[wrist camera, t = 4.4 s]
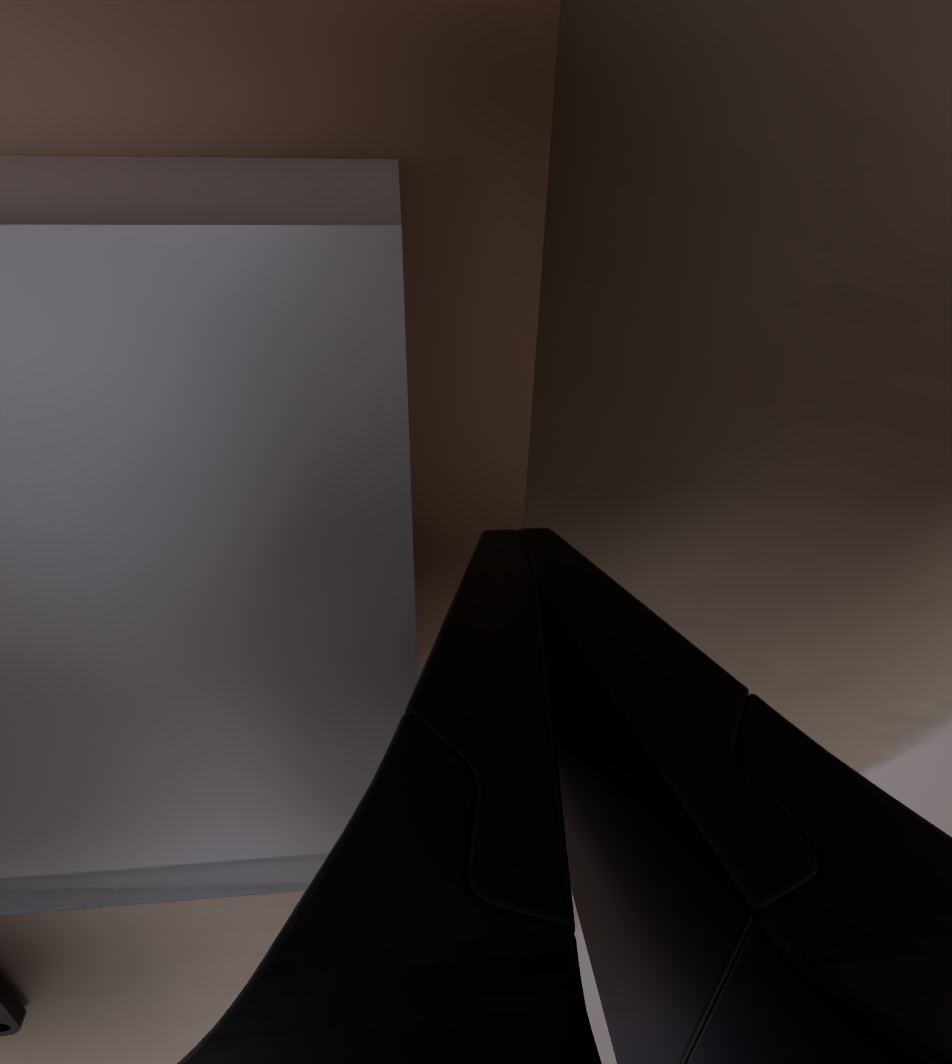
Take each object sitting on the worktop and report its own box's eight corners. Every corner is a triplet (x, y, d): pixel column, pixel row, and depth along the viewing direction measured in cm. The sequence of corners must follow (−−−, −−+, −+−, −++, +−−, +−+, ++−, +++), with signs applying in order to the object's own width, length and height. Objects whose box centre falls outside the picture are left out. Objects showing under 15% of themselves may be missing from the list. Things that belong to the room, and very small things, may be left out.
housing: (418, 695, 12) (424, 881, 9) (-26, 721, 11) (-153, 928, 9) (398, 159, 7) (402, 225, 5) (-348, 151, 7) (-824, 223, 4)
